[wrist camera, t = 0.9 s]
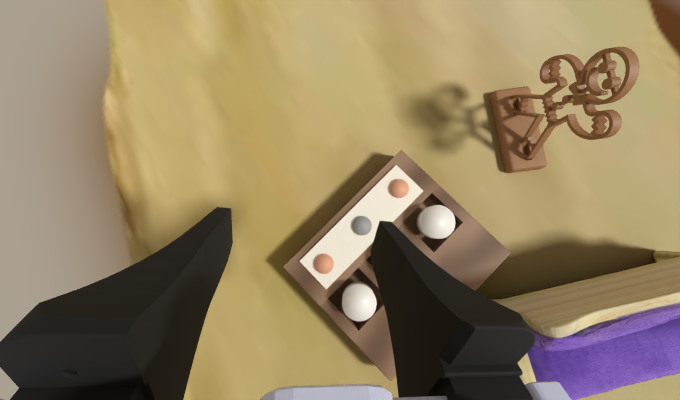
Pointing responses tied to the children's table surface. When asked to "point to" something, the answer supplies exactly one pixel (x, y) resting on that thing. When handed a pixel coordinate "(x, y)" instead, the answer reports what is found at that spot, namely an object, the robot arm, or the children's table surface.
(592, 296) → the toy sofa
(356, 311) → the button inner
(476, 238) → the button board
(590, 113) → the brown tall carved piece
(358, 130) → the children's table surface
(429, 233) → the button outer
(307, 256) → the pattern strip
